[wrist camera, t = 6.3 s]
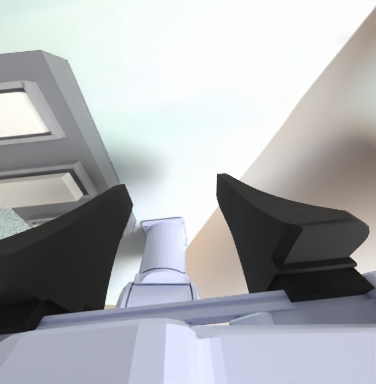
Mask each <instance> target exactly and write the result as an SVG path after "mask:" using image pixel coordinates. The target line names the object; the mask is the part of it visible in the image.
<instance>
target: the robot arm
mask: <svg viewBox="0 0 376 384" xmlns="http://www.w3.org/2000/svg"><path fill="white" fill-rule="evenodd" d="M216 196H217V200H218V203H219V206H220V209H221V211H222V213H223V215H224V217H225V220H226V222H227V224H228V226H229V228H230V231H231V233H232V236H233V239H234V242H235V245H236V248H237V252H238V255H239V258H240V262H241V265H242V269H243V272H244V276H245V279H246V283H247V287H248V291H249V294H242V295H233V296H224V297H216V298H205V299H200V294H199V291H198V288H197V287H196V286H195V284H194V283H193V282H189V274H186V263H185V262H186V260H185V249H188V241H187V234H186V227H185V220H184V218H182V217H181V218H172V219H163V220H154V221H144V222H142V227H143V229H144V232H145V234H146V237H147V240H146V244H145V248H144V253H143V257H142V261H141V266H140V270H139V274H136V276H135V280H134V282H129V283H128V284H127V285H126V286H125V287H124V288H123V290H122V292H121V294H120V296H119V299H118V302H117V305H116V308H115V309H106V310H104V306H105V300H106V295H107V289H108V285H109V280H110V276H111V271H112V267H113V263H114V259H115V256H116V252H117V249H118V246H119V243H120V240H121V238H122V235H123V233H124V230H125V228H126V226H127V223H128V221H129V218H130V216H131V212H132V207H133V203H132V201H131V198H130V196H129V193H128V191H127V189H126V186H125V184H120V185H115V186H113V187H111V188H110V189H108V190H106V191H104V192H103V193H101V194H100V195H98V196H96V197H95V198H93V199H91V200H90V201H88V202H86V203H84V204H83V205H81V206H79V207H77V208H76V209H74V210H72V211H70V212H68V213H66V214H64V215H62V216H60V217H57V218H55V219H53V220H51V221H48V222H46V223H43V224H41V225H39V226H36V227H34V228H31V229H29V230H26V231H24V232H21V233H18V234H15V235H13V236H10V237H7V238H4V239H1V240H0V384H376V271H372V272H368V273H365V274H362V275H361V274H360V273H359V272H358V271H357V270H356V269H355V268H354V267H356V266H357V263H356V262H355V261H354V260H353V259H352V258H350V257H349V256H350V255H351V254H352V253H353V252H354V251H355V250H356V249H357V248H358V247H359V246H360V245H361V244H362V243H363V242H364V241H365V240H366V239H367V237H368V235H369V226H367V225H366V224H365V223H364V222H362V221H361V220H359V219H358V218H356V217H355V216H353V215H352V214H350V213H348V212H347V211H343V210H337V209H331V208H324V207H319V206H313V205H308V204H304V203H299V202H295V201H291V200H287V199H284V198H280V197H276V196H274V195H271V194H268V193H265V192H262V191H260V190H257V189H255V188H253V187H251V186H249V185H247V184H245V183H243V182H241V181H239V180H237V179H235V178H233V177H232V176H230V175H228V174H226V173H223V174H217V192H216ZM224 322H230V323H229V326H202V325H206V324H216V323H224Z"/></svg>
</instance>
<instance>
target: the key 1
mask: <svg viewBox="0 0 376 384" xmlns="http://www.w3.org/2000/svg"><path fill="white" fill-rule="evenodd" d="M49 131H50V130H49V129H48V127H47V125H46V124H45V122H44V120H43V119H42V117H41V116H40V114H39V112H38V111H37V109H36V107H35V106H34V104H33V102H32V101H31V99H30V98H29V96H28V94H27V93H25V92H13V93H3V94H0V137H8V136H17V135H27V134H36V133H45V132H49Z"/></svg>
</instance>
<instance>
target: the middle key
mask: <svg viewBox="0 0 376 384" xmlns="http://www.w3.org/2000/svg"><path fill="white" fill-rule="evenodd" d="M82 196H83V193H82V192H81V190H80V189H79V187H78V186H77V184H76V182H75V181H74V179H73V178H72V176H71V175H70V173H69V172H68V173H59V174H49V175H40V176H30V177H21V178H11V179H2V180H0V209H7V208H16V207H26V206H35V205H45V204H54V203H63V202H73V201H78V200H79V199H80V198H81V197H82Z"/></svg>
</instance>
